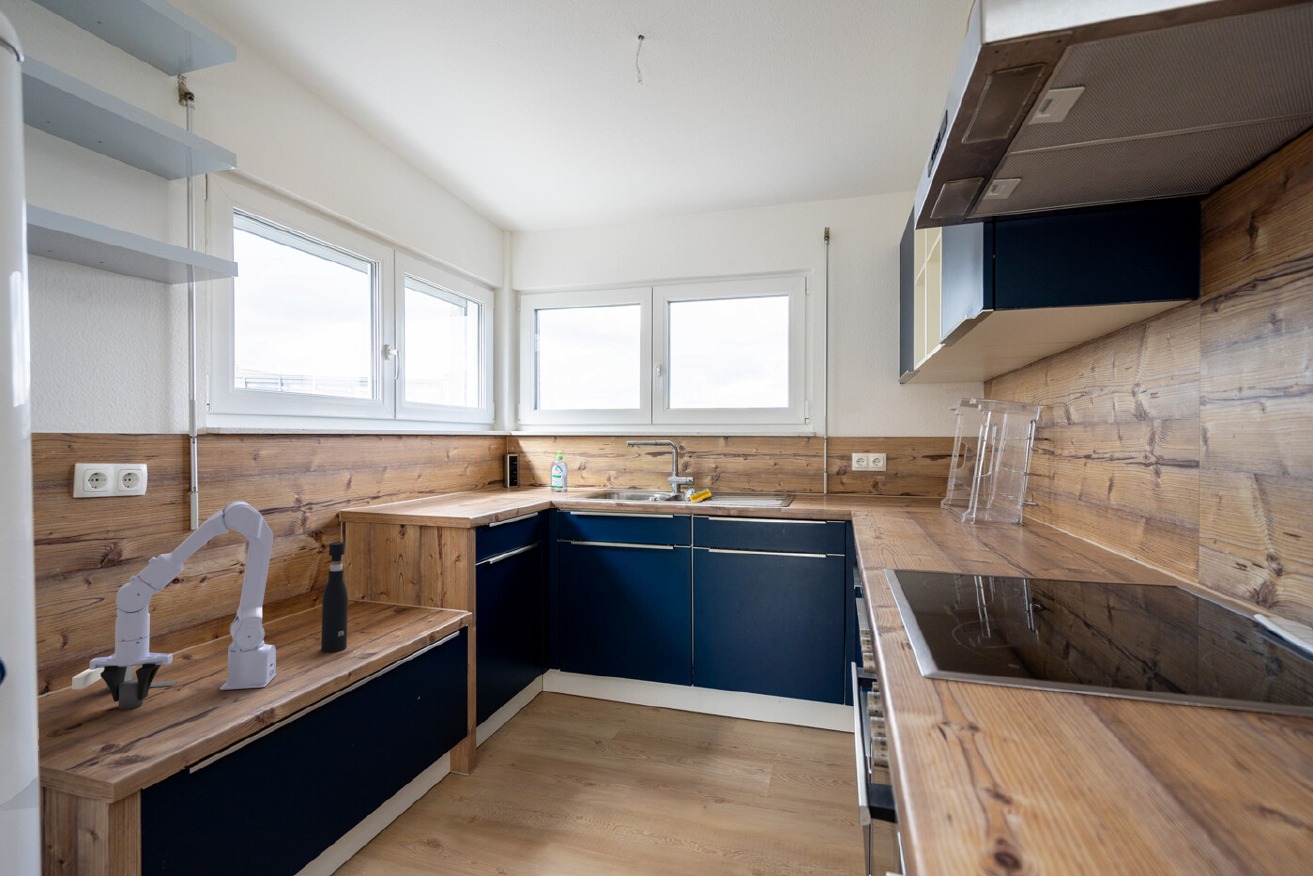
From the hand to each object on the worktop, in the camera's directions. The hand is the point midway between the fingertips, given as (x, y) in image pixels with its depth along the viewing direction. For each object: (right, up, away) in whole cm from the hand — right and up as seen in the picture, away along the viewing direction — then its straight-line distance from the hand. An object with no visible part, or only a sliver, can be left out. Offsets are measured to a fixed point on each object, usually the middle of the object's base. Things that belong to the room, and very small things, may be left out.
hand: (130, 699), depth 132 cm
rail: (-5, -1, +11) cm, 12 cm away
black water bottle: (+24, -3, +38) cm, 45 cm away
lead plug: (0, -1, 0) cm, 1 cm away
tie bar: (-9, -1, +4) cm, 10 cm away
